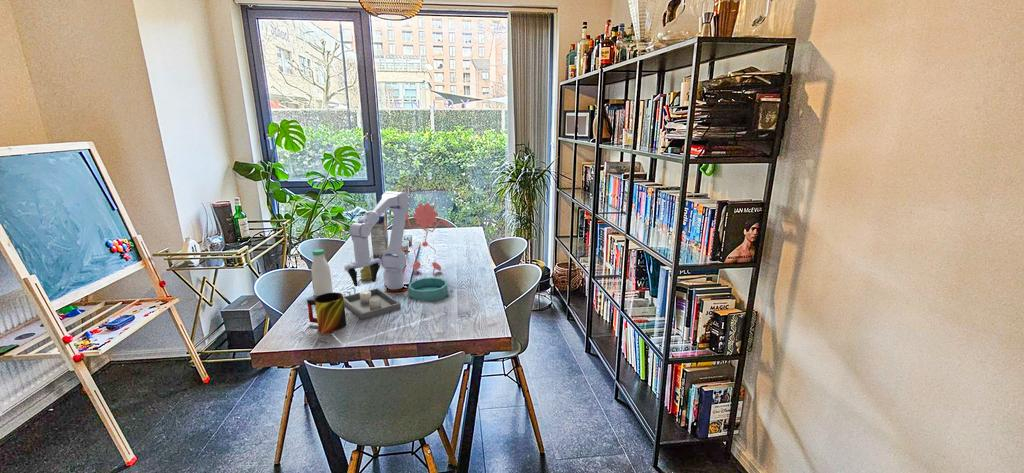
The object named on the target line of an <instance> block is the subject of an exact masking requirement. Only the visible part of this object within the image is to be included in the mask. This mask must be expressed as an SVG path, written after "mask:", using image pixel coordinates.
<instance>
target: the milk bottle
mask: <svg viewBox="0 0 1024 473" xmlns="http://www.w3.org/2000/svg"><path fill="white" fill-rule="evenodd" d="M312 257H313V261H312V263H311V267H310V273H311V274H310V275H311V282H312V283H311V284H312V290H313V294H314V296H315V297H317V296H320V295H322V294H326V293H334V292H333V290H334V289H333V283H332V274H331V267H330V265H329V262H328V261H327V259H326V257H325V250H324V249H322V248H321V249H314V250H312Z"/></svg>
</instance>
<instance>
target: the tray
mask: <svg viewBox="0 0 1024 473" xmlns="http://www.w3.org/2000/svg"><path fill="white" fill-rule="evenodd" d="M367 291H371V298H380V299H381V308H379V309H375V310H372V311H371V310H370V304H369V303H366V304H363V303H361V302H360V292H357V293H353V294H348V295H345V296H344V295H343V298H344V306H346V307H347V308H348V309H349V310H350V311H351V312H352V313H353V314H355V315H356V316H357V317H358V318H360V320H362V321H363V320H367V319H369V318H372V317H377V316H379V315H383V314H387V313H390V312H393V311H397V310H401V309H402V303H401V302H400V301H398V299H395V298H394V297H392V296H391V295H390V294H388V293H386V292H385V291H383V290H382V289H380V288H379V287H376V288H373V289H369V290H367Z"/></svg>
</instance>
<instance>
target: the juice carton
mask: <svg viewBox="0 0 1024 473" xmlns="http://www.w3.org/2000/svg"><path fill="white" fill-rule="evenodd" d="M388 235H389V234H388V223H387V212H386V211H384V212H383V213H382V214H381V215H380V216H379V221H378V222H377V223H376V224H375V225H374V226H373V227H372V230H371V232H370V238H371V247H372V248H371V250H372V259H377V258H379V259H382V257H383V254H384V251H385V250H387V249H388V248H389V236H388Z"/></svg>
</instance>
